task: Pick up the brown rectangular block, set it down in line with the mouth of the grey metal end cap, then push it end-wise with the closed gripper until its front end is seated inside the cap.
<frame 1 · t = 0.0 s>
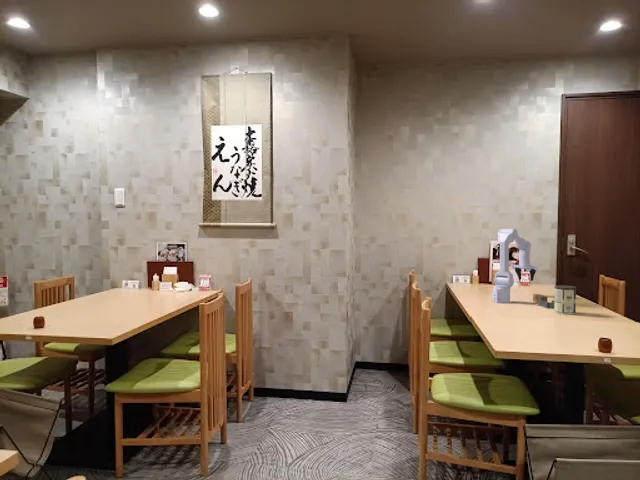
hand: (526, 279, 308), 11 cm above the table, tool pointing down, fingers open, 7 cm apart
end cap: (549, 306, 270), on the table
brown rectangular block: (539, 302, 285), on the table
coffee can: (564, 313, 252), on the table
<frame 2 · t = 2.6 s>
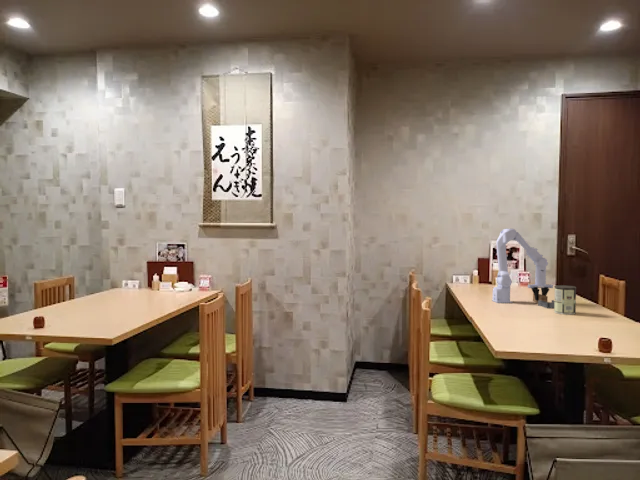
hand: (540, 300, 284), 1 cm above the table, tool pointing down, fingers closed on brown rectangular block, 3 cm apart
brown rectangular block: (539, 302, 285), on the table, touching gripper
everything else where it was.
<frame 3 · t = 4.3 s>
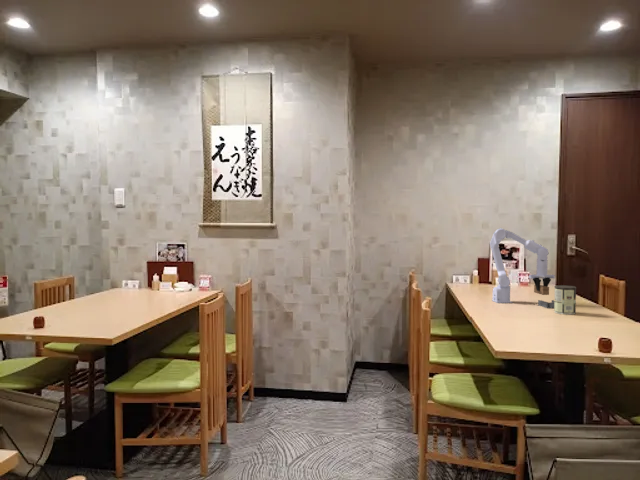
hand: (541, 290, 279), 8 cm above the table, tool pointing down, fingers closed on brown rectangular block, 3 cm apart
brown rectangular block: (541, 293, 279), point 6 cm above the table, touching gripper
everything else where it was.
when the fingers open (2 cm above the table, at t = 5.6 s): brown rectangular block stays where it is, on the table.
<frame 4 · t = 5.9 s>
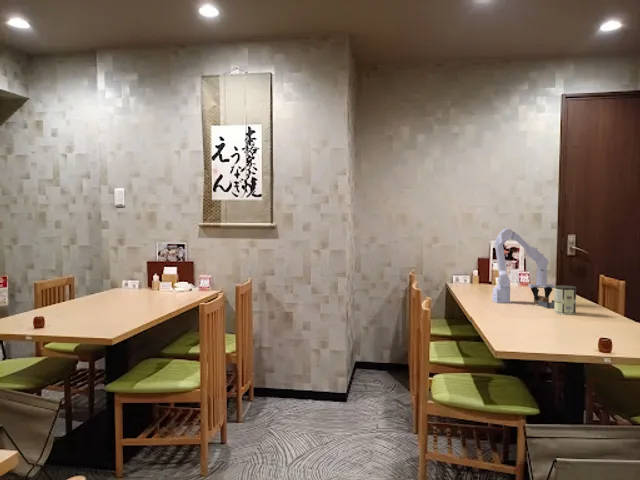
hand: (541, 300, 279), 2 cm above the table, tool pointing down, fingers open, 6 cm apart
brown rectangular block: (541, 304, 280), on the table
everything else where it was.
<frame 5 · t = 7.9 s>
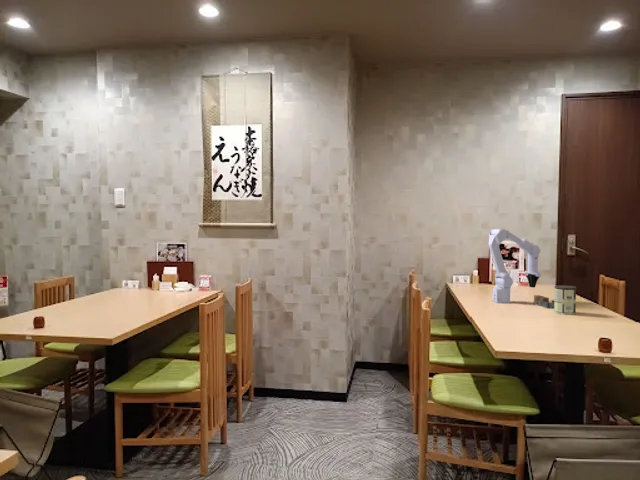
hand: (532, 287, 290), 8 cm above the table, tool pointing down, fingers closed
nothing on the table moved.
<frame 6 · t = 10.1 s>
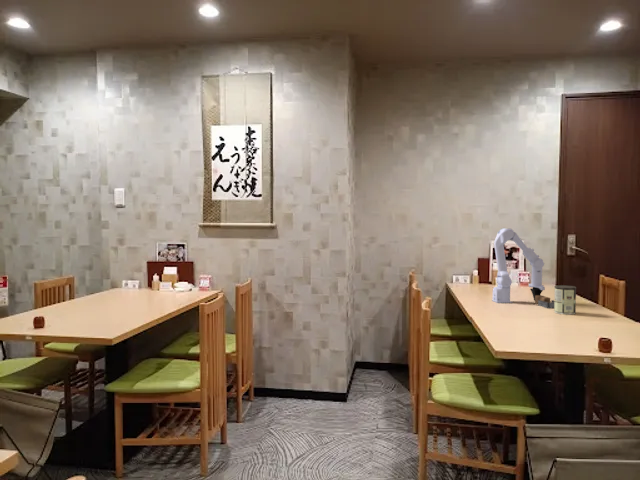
hand: (536, 300, 285), 1 cm above the table, tool pointing down, fingers closed
brown rectangular block: (542, 304, 278), on the table, touching gripper
everything else where it was.
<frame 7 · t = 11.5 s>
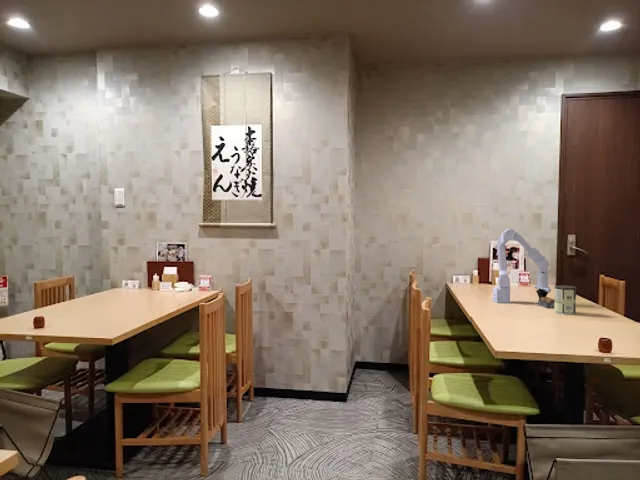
hand: (542, 302, 278), 1 cm above the table, tool pointing down, fingers closed
brown rectangular block: (548, 306, 272), on the table, touching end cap, gripper
everything else where it was.
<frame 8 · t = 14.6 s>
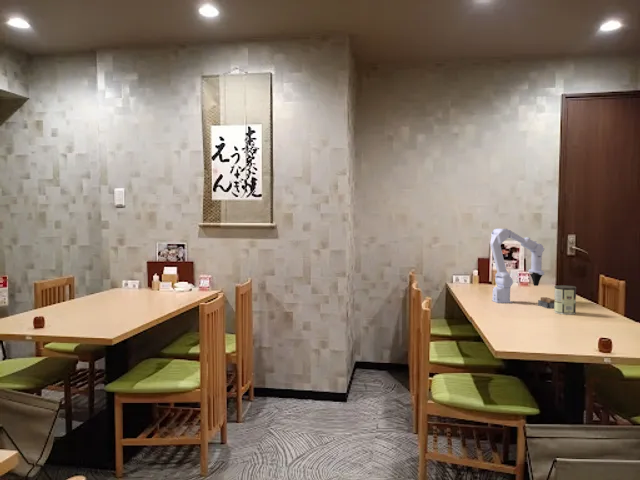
hand: (535, 285, 289), 9 cm above the table, tool pointing down, fingers closed
brown rectangular block: (548, 306, 272), on the table
everything else where it was.
at the end: brown rectangular block 0.3 cm from the target spot, on the table; brown rectangular block tilted 0°; the gripper is holding nothing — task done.
